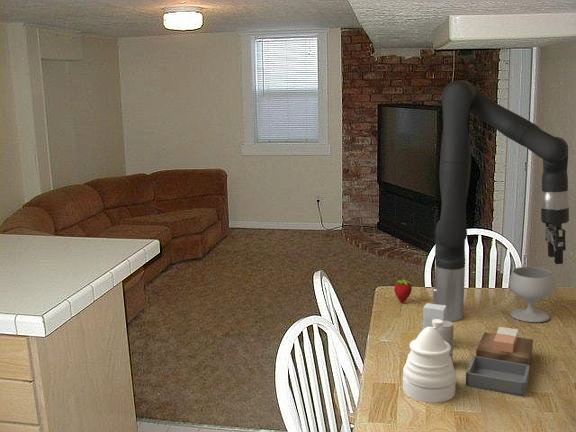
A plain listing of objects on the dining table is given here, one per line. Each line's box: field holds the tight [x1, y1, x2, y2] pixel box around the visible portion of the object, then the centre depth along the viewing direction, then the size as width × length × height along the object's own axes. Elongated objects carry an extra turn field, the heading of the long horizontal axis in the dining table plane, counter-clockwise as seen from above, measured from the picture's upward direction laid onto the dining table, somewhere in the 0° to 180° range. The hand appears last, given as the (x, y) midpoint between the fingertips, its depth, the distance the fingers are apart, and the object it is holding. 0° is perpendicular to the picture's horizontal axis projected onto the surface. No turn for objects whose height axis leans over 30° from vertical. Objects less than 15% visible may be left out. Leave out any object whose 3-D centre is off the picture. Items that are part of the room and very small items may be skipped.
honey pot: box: [402, 319, 457, 403], centre depth 154 cm, size 13×13×18 cm
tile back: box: [496, 326, 519, 344], centre depth 172 cm, size 5×5×2 cm
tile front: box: [493, 333, 516, 353], centre depth 167 cm, size 5×5×2 cm
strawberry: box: [393, 276, 413, 304], centre depth 215 cm, size 6×8×10 cm
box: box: [465, 355, 531, 398], centre depth 159 cm, size 14×11×4 cm
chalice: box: [508, 266, 556, 323], centre depth 200 cm, size 14×14×15 cm
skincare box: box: [422, 302, 447, 330], centre depth 180 cm, size 6×4×12 cm
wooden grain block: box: [475, 331, 534, 366], centre depth 169 cm, size 13×13×5 cm
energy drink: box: [433, 320, 454, 363], centre depth 168 cm, size 5×5×12 cm
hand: (555, 260), depth 184 cm, fingers open, 8 cm apart
